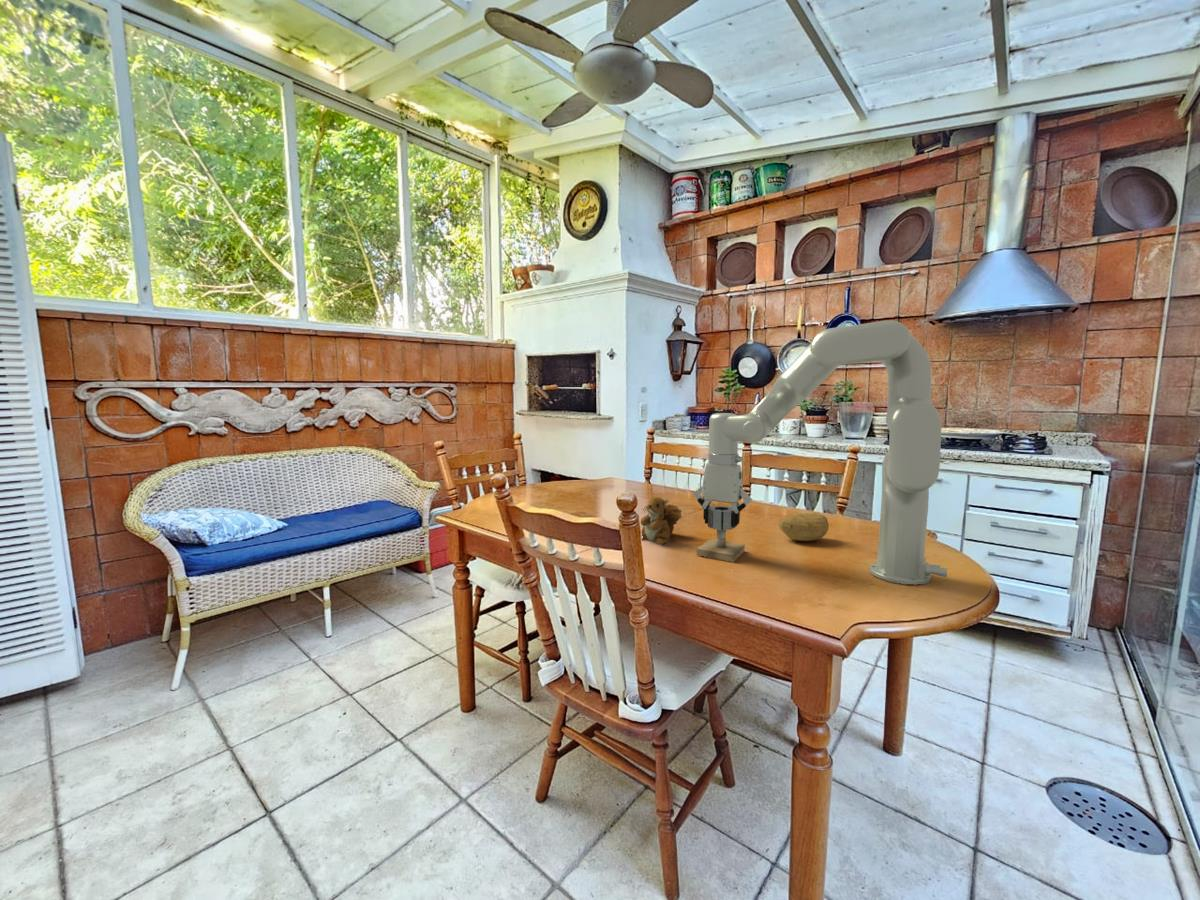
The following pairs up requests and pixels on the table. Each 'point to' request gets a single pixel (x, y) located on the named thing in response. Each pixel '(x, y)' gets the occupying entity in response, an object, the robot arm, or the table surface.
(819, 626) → the table surface
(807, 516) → the potato
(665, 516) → the stuffed squirrel
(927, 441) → the robot arm
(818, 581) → the table surface
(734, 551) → the shaft stand
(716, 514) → the hub
